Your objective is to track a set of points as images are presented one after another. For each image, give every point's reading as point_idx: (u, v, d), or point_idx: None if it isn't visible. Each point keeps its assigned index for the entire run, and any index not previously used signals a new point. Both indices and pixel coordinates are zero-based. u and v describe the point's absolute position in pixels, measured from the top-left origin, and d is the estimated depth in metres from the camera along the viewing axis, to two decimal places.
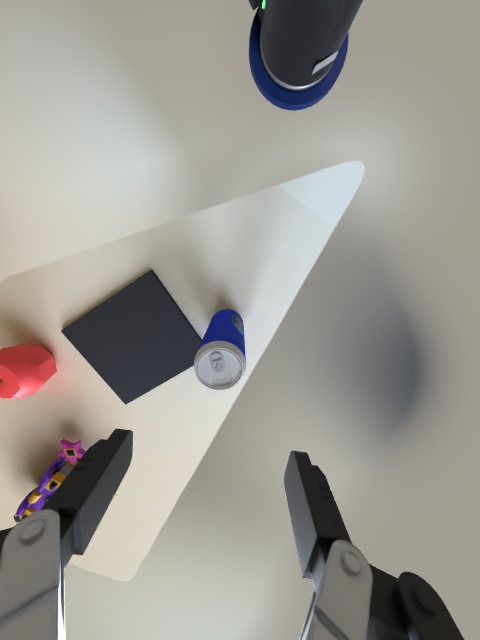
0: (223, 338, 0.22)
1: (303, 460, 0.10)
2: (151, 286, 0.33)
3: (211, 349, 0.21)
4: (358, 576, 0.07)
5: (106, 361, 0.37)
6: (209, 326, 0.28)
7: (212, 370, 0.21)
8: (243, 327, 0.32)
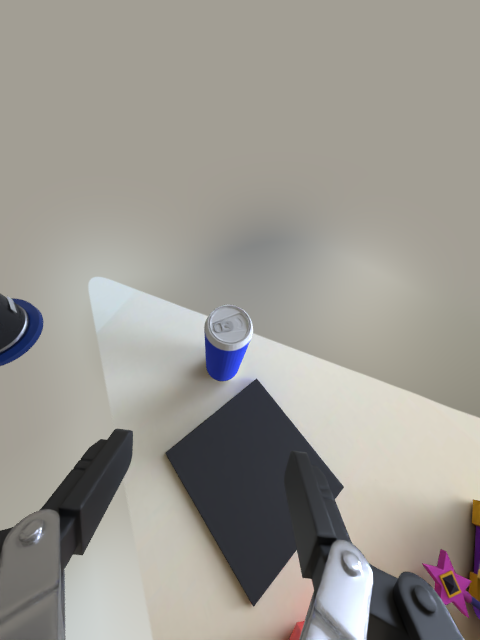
0: None
1: (303, 460, 0.10)
2: (184, 451, 0.29)
3: (209, 330, 0.22)
4: (358, 576, 0.07)
5: (288, 519, 0.27)
6: (212, 366, 0.29)
7: (232, 330, 0.23)
8: None
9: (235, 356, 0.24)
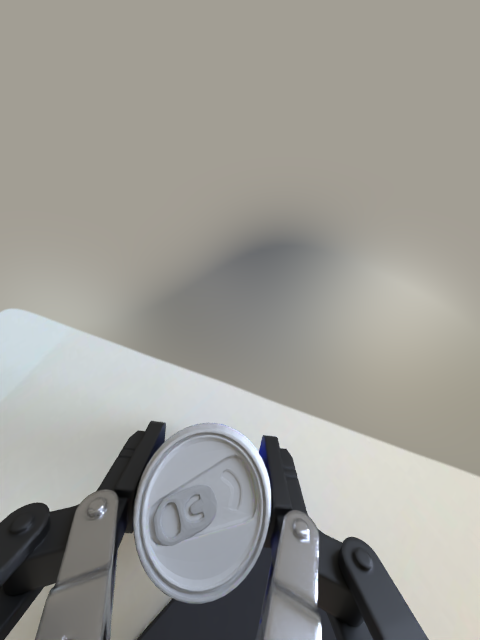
0: None
1: (272, 443, 0.11)
2: None
3: (139, 543, 0.07)
4: (305, 539, 0.07)
5: None
6: None
7: (213, 523, 0.08)
8: None
9: None
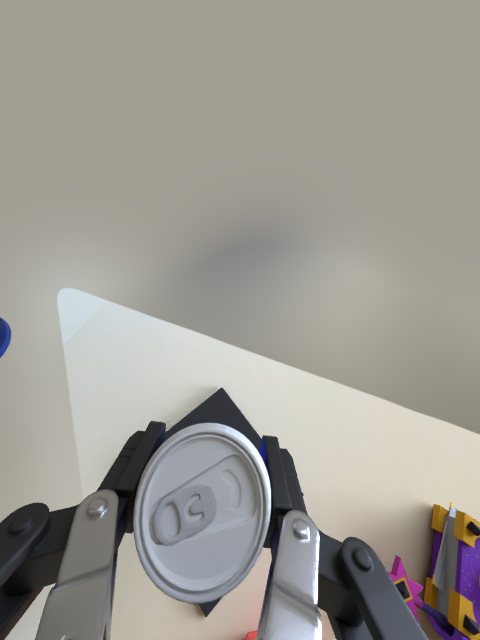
0: None
1: (272, 443, 0.11)
2: None
3: (139, 543, 0.07)
4: (305, 539, 0.07)
5: None
6: None
7: (213, 523, 0.08)
8: None
9: None
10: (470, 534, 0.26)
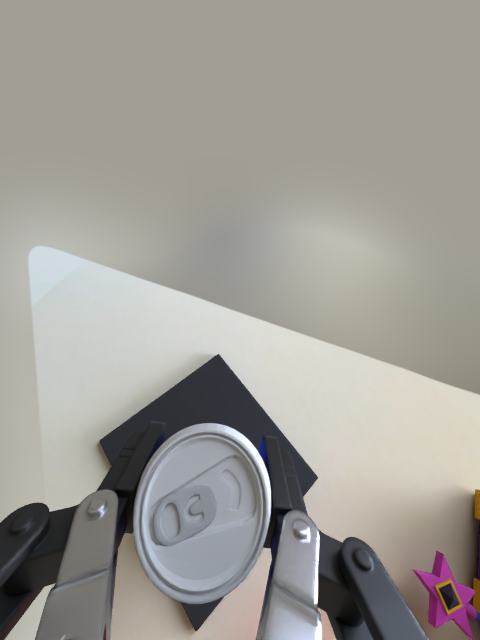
0: None
1: (272, 443, 0.11)
2: (122, 438, 0.24)
3: (139, 543, 0.07)
4: (305, 539, 0.07)
5: None
6: None
7: (213, 523, 0.08)
8: None
9: None
10: None
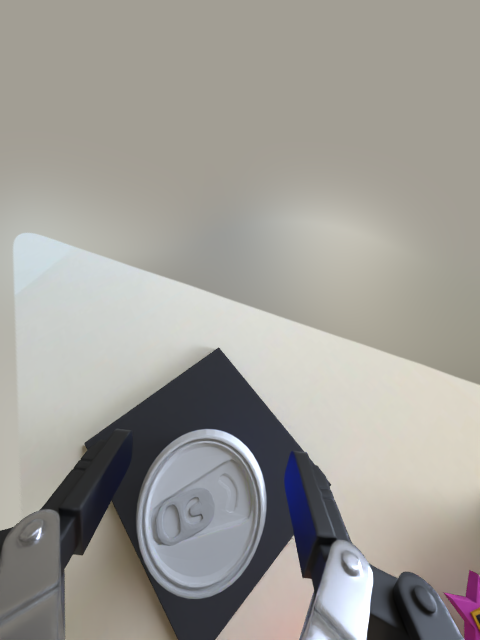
0: None
1: (303, 460, 0.10)
2: None
3: (142, 543, 0.07)
4: (358, 576, 0.07)
5: None
6: None
7: (211, 524, 0.08)
8: None
9: None
10: None
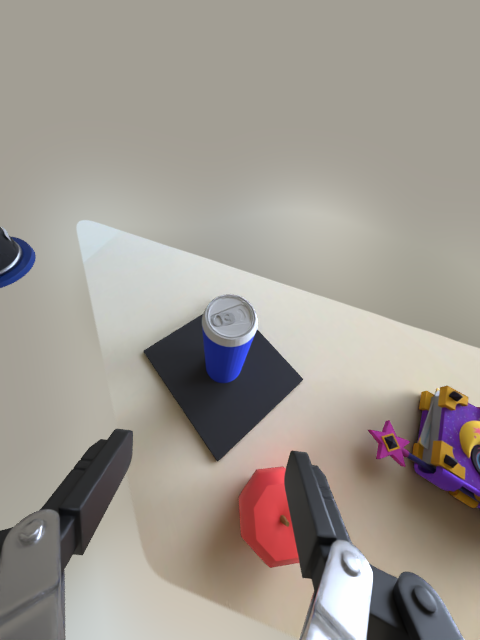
0: None
1: (303, 460, 0.10)
2: (160, 350, 0.33)
3: (207, 324, 0.19)
4: (358, 576, 0.07)
5: (251, 401, 0.31)
6: (212, 366, 0.26)
7: (234, 323, 0.20)
8: None
9: (238, 353, 0.21)
10: (451, 400, 0.30)
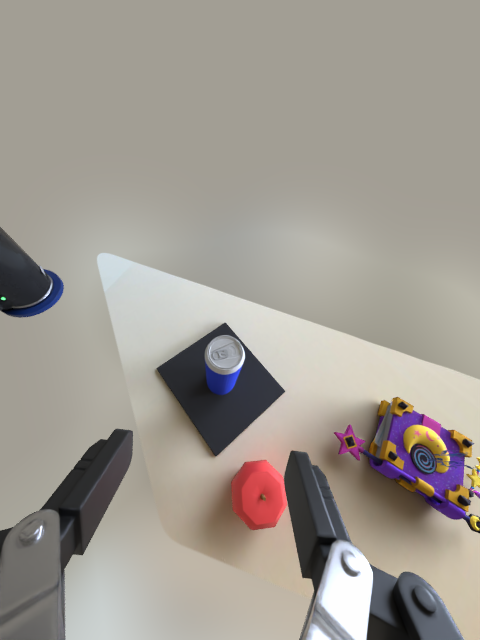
0: None
1: (303, 460, 0.10)
2: (170, 367, 0.41)
3: (209, 358, 0.27)
4: (358, 576, 0.07)
5: (243, 409, 0.39)
6: (212, 384, 0.34)
7: (227, 357, 0.28)
8: None
9: (230, 377, 0.29)
10: (399, 409, 0.38)
